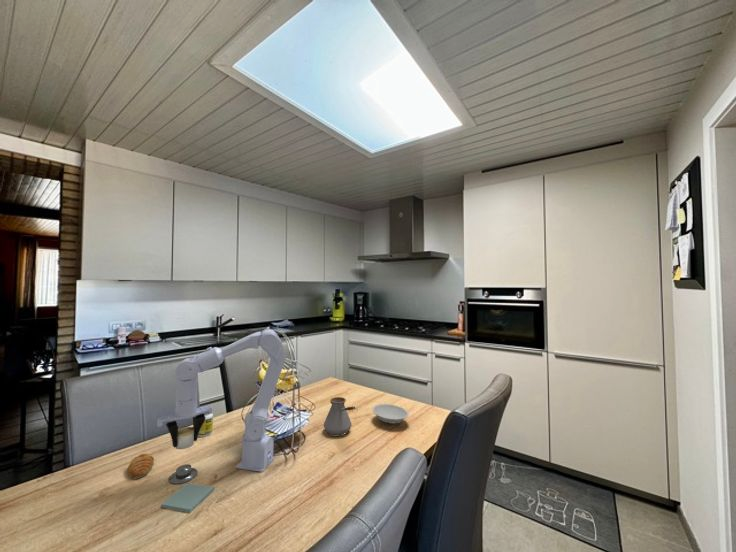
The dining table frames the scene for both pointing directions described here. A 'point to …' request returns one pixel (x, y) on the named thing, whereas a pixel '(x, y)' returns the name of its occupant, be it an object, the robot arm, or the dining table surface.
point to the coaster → (187, 497)
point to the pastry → (140, 466)
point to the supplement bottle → (206, 426)
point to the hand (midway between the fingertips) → (184, 442)
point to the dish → (390, 413)
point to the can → (185, 437)
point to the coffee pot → (338, 417)
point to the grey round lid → (183, 474)
